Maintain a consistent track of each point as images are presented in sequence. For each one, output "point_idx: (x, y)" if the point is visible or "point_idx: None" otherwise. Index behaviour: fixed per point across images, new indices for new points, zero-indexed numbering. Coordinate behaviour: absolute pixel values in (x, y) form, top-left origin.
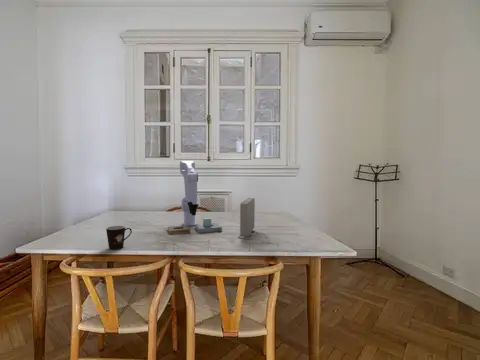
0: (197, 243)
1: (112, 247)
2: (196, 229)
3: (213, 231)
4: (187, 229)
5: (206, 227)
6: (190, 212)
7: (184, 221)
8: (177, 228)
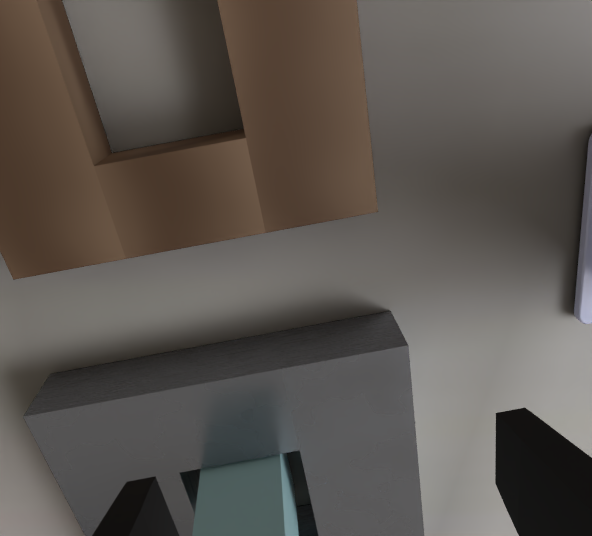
0: None
1: None
2: (261, 337)
3: None
4: (17, 237)
5: None
6: (509, 441)
7: None
8: (221, 13)
